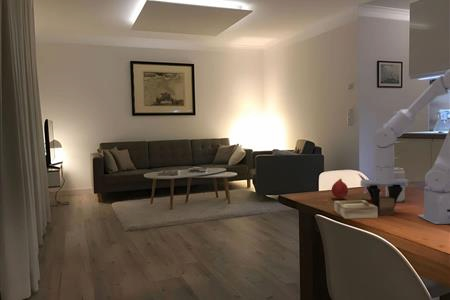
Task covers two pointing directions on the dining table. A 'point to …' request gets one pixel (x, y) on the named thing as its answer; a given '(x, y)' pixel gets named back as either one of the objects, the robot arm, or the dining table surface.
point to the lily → (365, 187)
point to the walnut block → (386, 205)
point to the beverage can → (400, 174)
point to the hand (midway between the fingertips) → (383, 208)
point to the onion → (339, 189)
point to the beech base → (356, 209)
